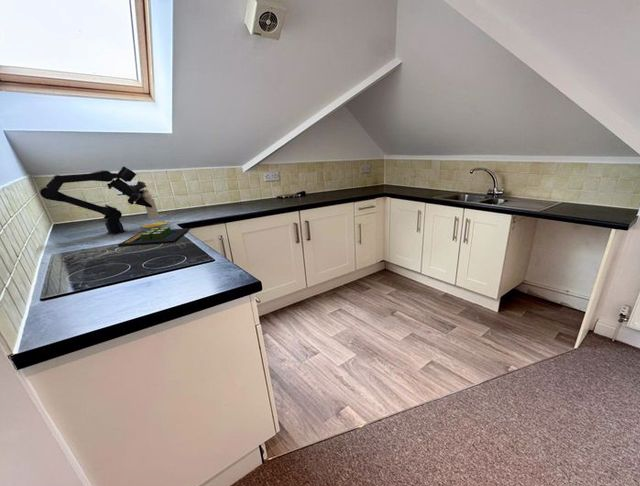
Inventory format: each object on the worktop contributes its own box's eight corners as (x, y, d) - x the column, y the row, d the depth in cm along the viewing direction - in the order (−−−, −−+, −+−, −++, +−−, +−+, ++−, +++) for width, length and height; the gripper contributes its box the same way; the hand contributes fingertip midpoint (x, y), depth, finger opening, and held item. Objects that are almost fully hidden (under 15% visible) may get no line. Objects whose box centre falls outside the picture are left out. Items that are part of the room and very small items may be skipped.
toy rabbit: (156, 218, 176) (147, 189, 170) (147, 218, 176) (137, 189, 169) (160, 216, 181) (152, 188, 174) (151, 216, 180) (142, 188, 174)
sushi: (142, 232, 169) (140, 226, 168) (190, 229, 174) (188, 223, 172) (118, 246, 147) (116, 239, 145) (174, 242, 151) (172, 235, 150)
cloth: (148, 228, 178) (148, 227, 178) (140, 227, 181) (140, 226, 181) (168, 223, 188) (167, 223, 188) (160, 222, 191) (160, 222, 191)
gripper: (127, 178, 160) (157, 198, 167) (138, 175, 176) (165, 193, 184) (115, 194, 160) (145, 213, 168) (127, 190, 176) (154, 207, 184)
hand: (153, 206), depth 176 cm, fingers closed on toy rabbit, 5 cm apart
